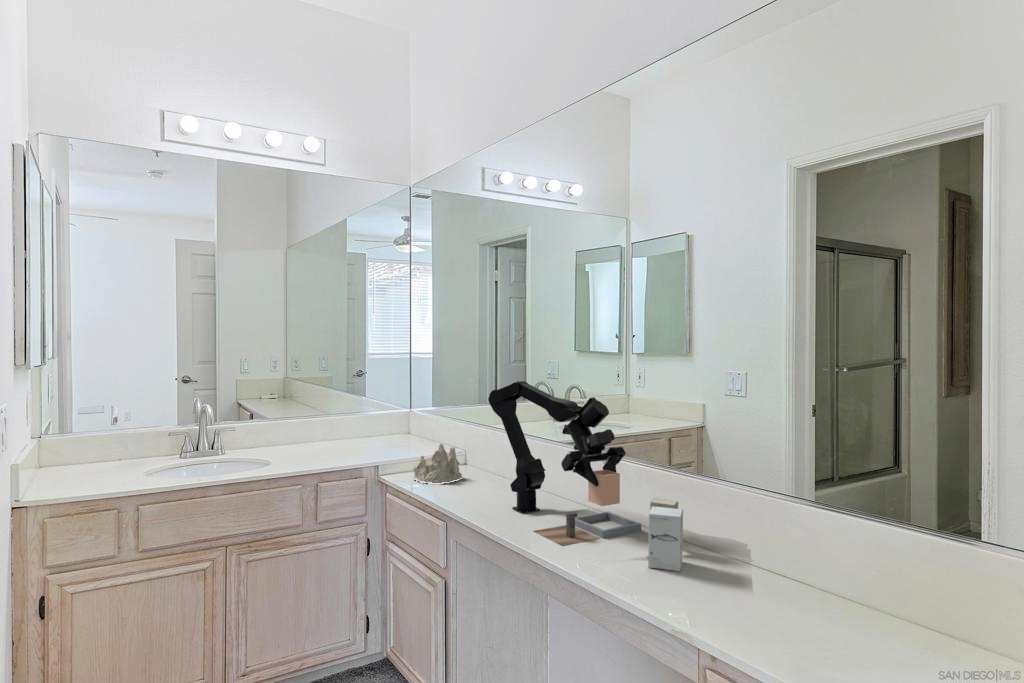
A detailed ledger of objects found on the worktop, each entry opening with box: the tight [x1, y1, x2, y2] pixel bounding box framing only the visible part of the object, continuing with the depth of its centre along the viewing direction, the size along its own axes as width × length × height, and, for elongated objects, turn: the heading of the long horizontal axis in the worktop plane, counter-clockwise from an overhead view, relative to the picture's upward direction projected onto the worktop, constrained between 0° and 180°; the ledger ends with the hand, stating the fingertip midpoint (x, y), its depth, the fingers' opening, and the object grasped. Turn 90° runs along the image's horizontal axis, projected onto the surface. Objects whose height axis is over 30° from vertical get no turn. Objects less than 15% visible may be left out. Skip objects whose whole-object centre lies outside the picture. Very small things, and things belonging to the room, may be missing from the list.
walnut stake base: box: [532, 511, 602, 547], centre depth 161 cm, size 14×12×8 cm
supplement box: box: [647, 506, 684, 573], centre depth 143 cm, size 7×7×13 cm
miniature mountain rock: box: [412, 443, 463, 483], centre depth 232 cm, size 16×16×15 cm
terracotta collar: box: [587, 469, 621, 507], centre depth 167 cm, size 8×6×8 cm
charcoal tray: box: [575, 511, 642, 539], centre depth 167 cm, size 14×13×3 cm
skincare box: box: [649, 497, 679, 511], centre depth 153 cm, size 6×4×12 cm
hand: (607, 484), depth 165 cm, fingers closed on terracotta collar, 6 cm apart
